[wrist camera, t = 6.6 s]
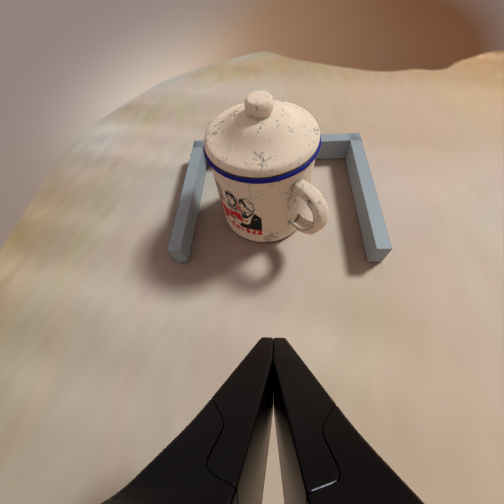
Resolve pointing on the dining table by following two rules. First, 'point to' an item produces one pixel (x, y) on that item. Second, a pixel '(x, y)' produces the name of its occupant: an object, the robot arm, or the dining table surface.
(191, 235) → the dock
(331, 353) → the dining table surface
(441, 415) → the dining table surface
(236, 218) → the teacup with lid
